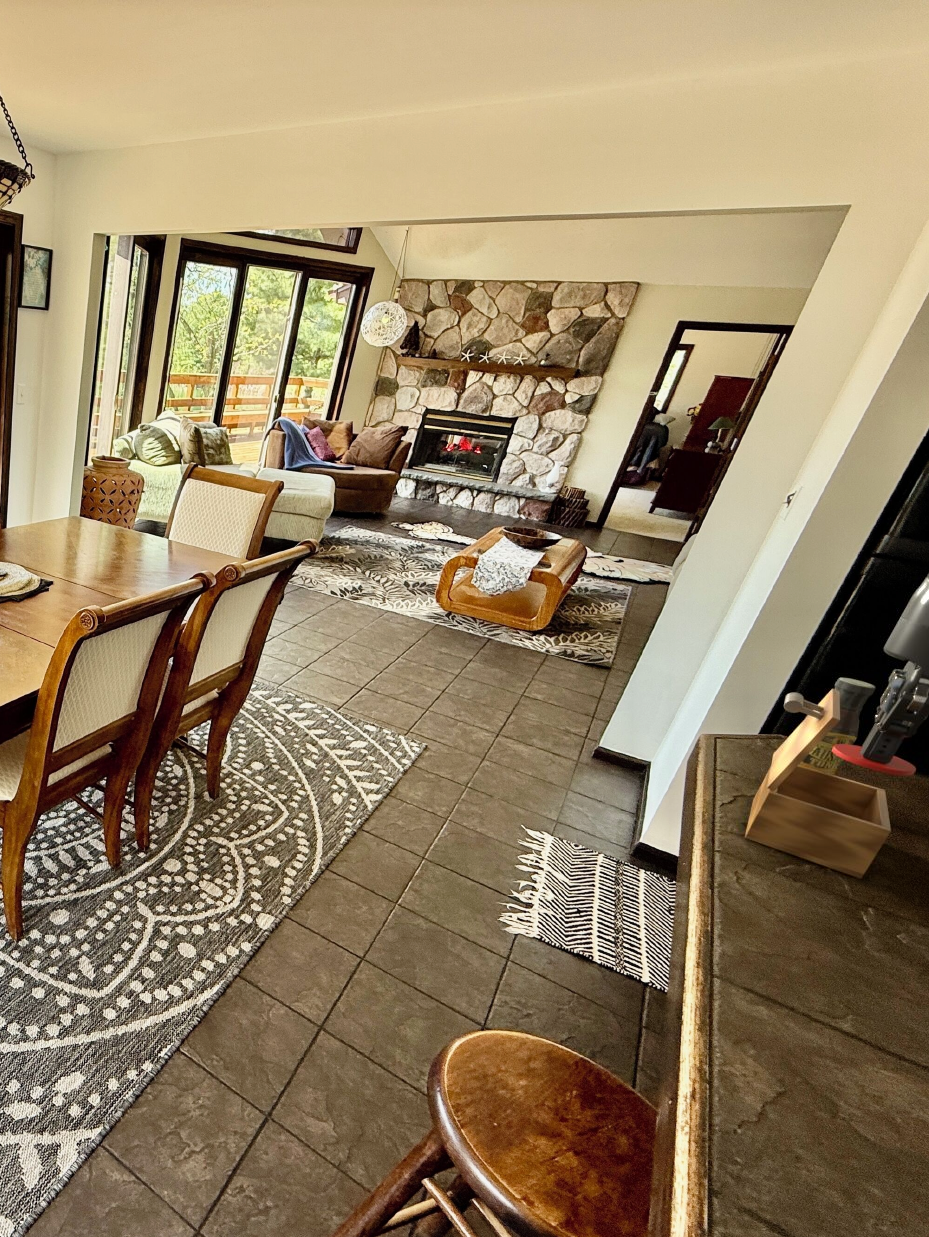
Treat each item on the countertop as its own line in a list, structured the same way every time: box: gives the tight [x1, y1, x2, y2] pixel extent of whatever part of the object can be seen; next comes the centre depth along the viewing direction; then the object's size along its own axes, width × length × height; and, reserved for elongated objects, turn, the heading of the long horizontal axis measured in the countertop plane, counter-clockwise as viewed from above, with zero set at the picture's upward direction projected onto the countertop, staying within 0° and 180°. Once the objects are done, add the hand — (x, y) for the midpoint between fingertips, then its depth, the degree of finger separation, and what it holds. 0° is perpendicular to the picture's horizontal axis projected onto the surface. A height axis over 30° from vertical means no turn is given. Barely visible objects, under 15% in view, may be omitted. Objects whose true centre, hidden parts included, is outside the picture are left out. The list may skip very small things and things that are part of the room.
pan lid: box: [832, 724, 917, 776], centre depth 84 cm, size 7×7×5 cm
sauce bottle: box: [799, 677, 876, 775], centre depth 112 cm, size 7×6×20 cm
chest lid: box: [767, 688, 840, 791], centre depth 101 cm, size 12×17×5 cm
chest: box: [744, 765, 892, 880], centre depth 101 cm, size 12×17×8 cm
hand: (874, 756), depth 85 cm, fingers closed on pan lid, 2 cm apart
